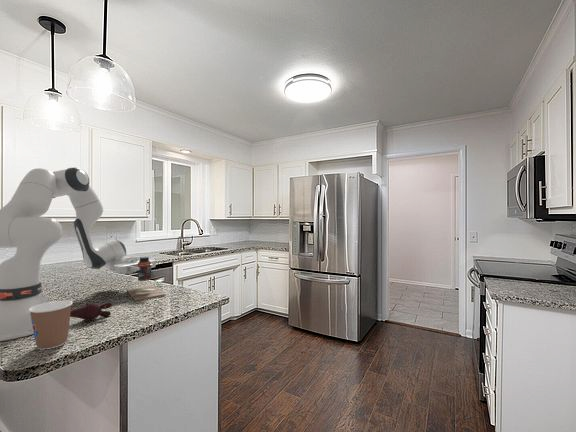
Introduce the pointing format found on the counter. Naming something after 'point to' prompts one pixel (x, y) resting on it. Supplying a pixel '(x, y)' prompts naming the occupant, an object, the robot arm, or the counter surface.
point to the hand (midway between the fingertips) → (145, 267)
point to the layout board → (145, 292)
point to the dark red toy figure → (91, 311)
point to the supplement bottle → (144, 269)
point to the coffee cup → (51, 323)
